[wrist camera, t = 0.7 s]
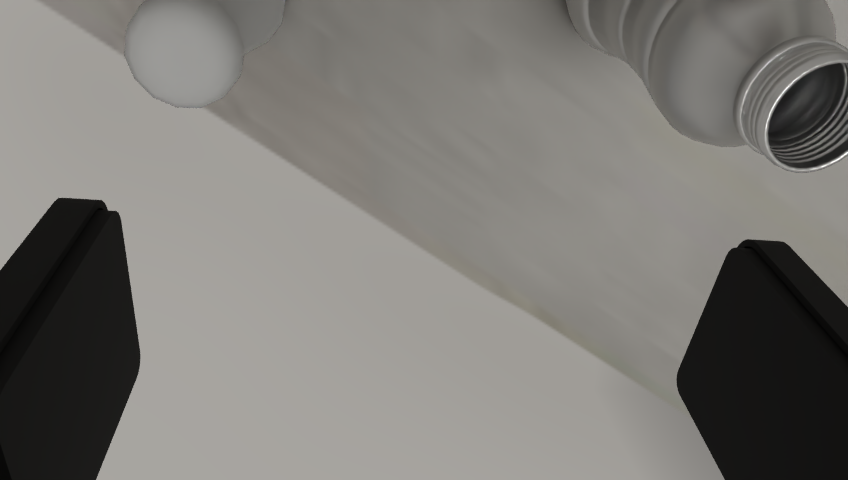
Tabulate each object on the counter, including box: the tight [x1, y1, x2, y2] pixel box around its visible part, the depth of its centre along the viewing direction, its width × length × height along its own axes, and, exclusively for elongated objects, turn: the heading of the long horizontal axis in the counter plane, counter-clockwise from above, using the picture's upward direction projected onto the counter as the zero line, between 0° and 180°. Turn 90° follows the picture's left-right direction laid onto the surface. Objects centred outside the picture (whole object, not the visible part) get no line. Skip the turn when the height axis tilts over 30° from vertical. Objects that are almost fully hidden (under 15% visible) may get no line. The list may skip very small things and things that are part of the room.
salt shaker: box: [124, 0, 285, 108], centre depth 30 cm, size 6×6×13 cm
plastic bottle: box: [566, 0, 848, 173], centre depth 29 cm, size 6×7×20 cm
